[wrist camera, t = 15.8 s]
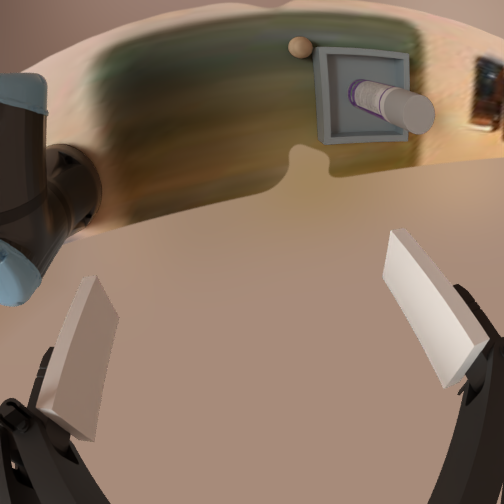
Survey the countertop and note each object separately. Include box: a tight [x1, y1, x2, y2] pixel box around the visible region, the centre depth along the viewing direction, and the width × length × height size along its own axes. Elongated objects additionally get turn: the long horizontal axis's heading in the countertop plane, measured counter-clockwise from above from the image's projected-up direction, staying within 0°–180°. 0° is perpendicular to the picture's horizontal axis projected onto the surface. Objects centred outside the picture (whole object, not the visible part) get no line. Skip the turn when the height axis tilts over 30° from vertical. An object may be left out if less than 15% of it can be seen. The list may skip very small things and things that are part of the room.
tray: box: [312, 47, 410, 145], centre depth 37 cm, size 14×14×3 cm
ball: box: [288, 37, 313, 58], centre depth 32 cm, size 3×3×3 cm
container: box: [347, 79, 435, 134], centre depth 31 cm, size 5×5×15 cm
